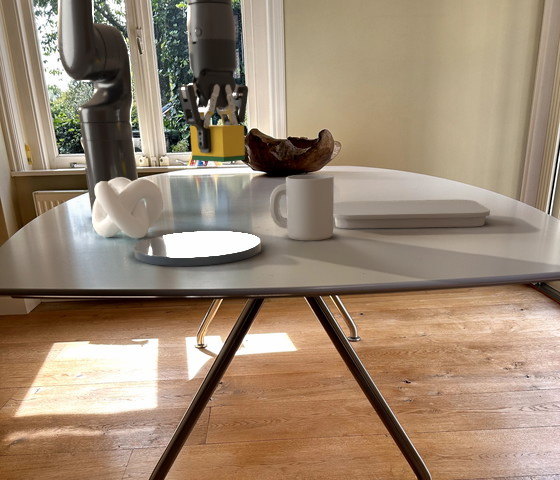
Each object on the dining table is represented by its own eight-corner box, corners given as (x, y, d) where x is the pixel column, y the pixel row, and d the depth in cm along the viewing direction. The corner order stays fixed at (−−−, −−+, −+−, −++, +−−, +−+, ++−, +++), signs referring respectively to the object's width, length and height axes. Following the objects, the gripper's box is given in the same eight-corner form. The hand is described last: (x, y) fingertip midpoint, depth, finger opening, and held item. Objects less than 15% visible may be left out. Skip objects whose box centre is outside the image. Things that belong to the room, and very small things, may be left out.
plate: (109, 255, 85) (108, 246, 85) (204, 235, 97) (203, 227, 97) (191, 273, 74) (190, 263, 73) (287, 248, 86) (286, 239, 85)
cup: (330, 241, 90) (330, 179, 86) (265, 240, 92) (263, 179, 88) (335, 232, 96) (336, 174, 93) (275, 231, 98) (273, 175, 94)
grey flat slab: (331, 214, 113) (331, 202, 112) (470, 211, 111) (471, 199, 110) (331, 229, 98) (332, 215, 97) (493, 226, 96) (494, 212, 95)
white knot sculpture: (157, 242, 93) (151, 182, 89) (80, 244, 93) (71, 184, 89) (169, 229, 103) (164, 175, 100) (100, 231, 103) (92, 177, 100)
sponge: (192, 160, 104) (189, 125, 102) (213, 158, 107) (211, 125, 105) (223, 162, 99) (222, 126, 97) (245, 160, 102) (243, 125, 100)
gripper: (227, 43, 103) (232, 148, 110) (161, 37, 93) (171, 153, 100) (259, 39, 98) (262, 149, 105) (193, 33, 88) (201, 155, 95)
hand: (217, 151), depth 102 cm, fingers closed on sponge, 5 cm apart
